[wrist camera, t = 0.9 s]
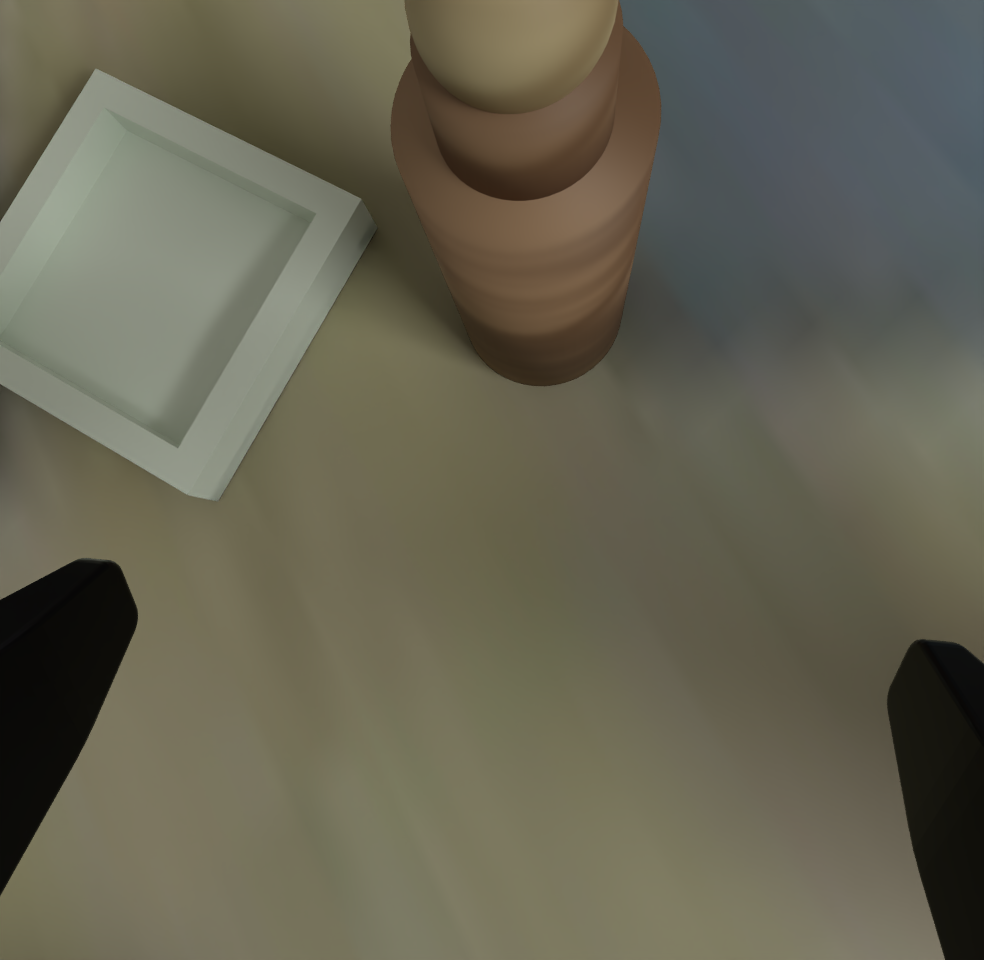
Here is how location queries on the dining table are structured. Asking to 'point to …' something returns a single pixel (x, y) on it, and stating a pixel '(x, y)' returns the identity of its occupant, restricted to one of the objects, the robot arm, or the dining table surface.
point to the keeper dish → (166, 282)
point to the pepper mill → (529, 171)
